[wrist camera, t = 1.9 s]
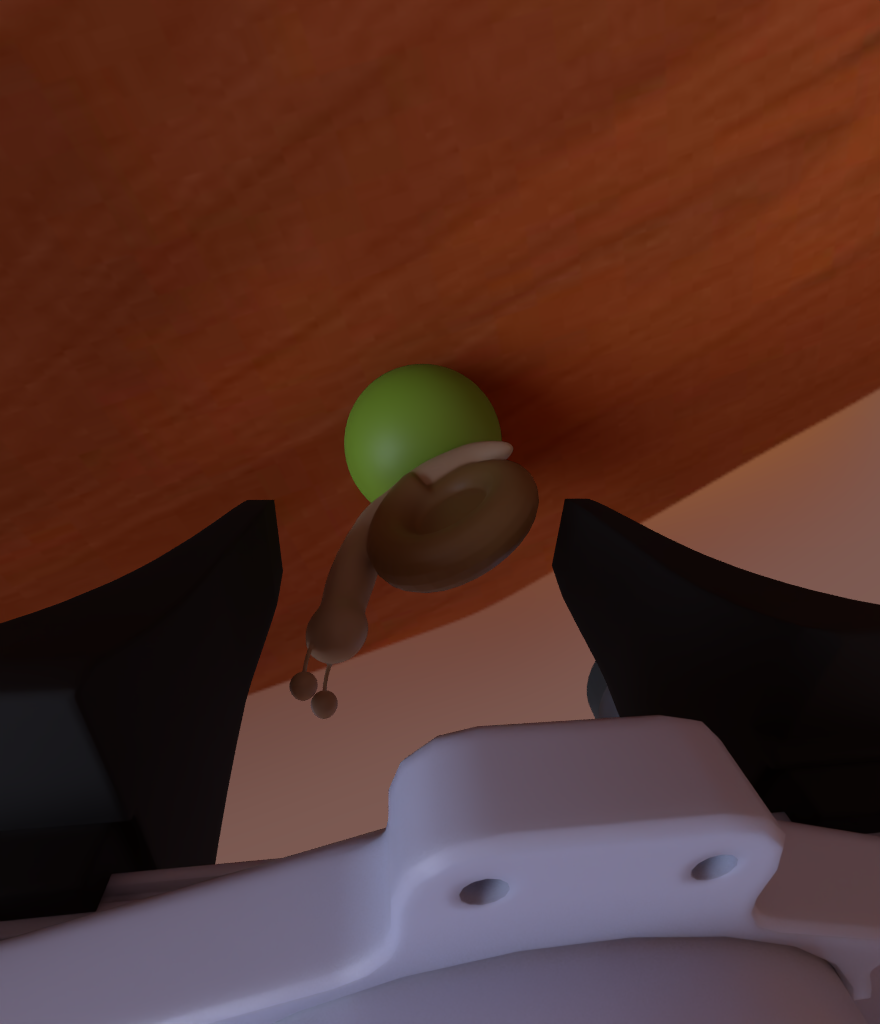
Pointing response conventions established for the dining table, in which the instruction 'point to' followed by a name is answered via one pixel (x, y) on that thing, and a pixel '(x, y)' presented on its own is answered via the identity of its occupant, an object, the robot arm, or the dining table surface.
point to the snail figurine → (417, 505)
